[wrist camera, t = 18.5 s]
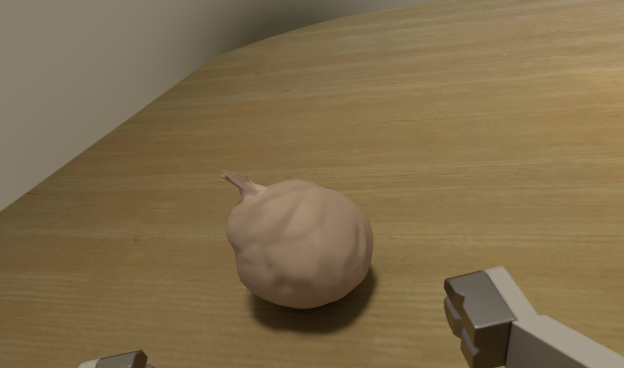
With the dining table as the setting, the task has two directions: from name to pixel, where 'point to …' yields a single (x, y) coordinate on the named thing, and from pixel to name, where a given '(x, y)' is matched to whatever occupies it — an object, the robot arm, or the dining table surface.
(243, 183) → the garlic bulb
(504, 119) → the dining table surface
